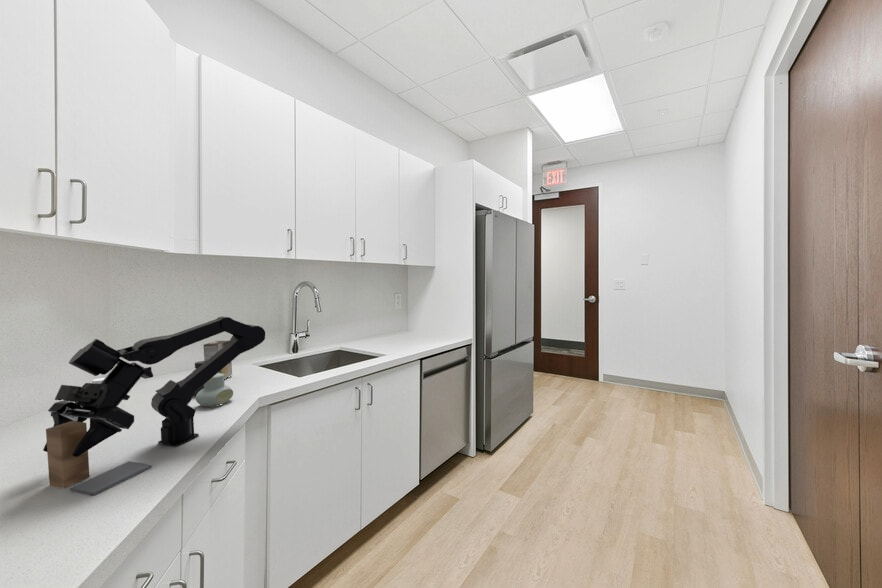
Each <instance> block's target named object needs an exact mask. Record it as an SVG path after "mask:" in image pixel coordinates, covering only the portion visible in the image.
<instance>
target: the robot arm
mask: <svg viewBox="0 0 882 588" xmlns="http://www.w3.org/2000/svg"><path fill="white" fill-rule="evenodd" d="M224 332H225V333H228V334H230V335H232V336H231V338H230V339H229V340H228V341H229V343H228V344H227V345H226V346H224V347H223V348H222V349H221V350H219V351H218V352H217V353H216V354H215V355H213V356H212V357H211V358H210V359H208V360H207V361H206V362H205V363H203V364H202V365H201V366H200V367H198V368H197V369H196V368H195V369H196V370H195V369H194V370H195V371H194V370H192V372H191V373H190V374H188V375H187V376H186V377H185V378H183V379H181V380H179V381H177V382H176V381H173V380H171V379H170V380H168V381H167V382H166V383H165V384H164V385H163V386H162V387H161V388H158V389H156V390H155V394H154V395H153V396H152V398H151V404H150V405H151V408H152V409H153V410H154V411H156V412H157V413H158V414H159V415H161V417H164V419H163V420H161V427H160V438H161V439H160V440H159V441H157V443H158V445H165V446H173V447H178V446H180V445H182V444H184V443H186V442H189V441H191V440H193V439H195V438H197V437H199V433H195V424H194V423H195V422H194V421H195V420H194V417H195V414H196V412H197V410H196V409H195V408H193V407H191V406H190V405H189V403H190V402H191V401H192V400H193V397H195V396H194V394H195V393H196V391H197V390H198V389H199V388H200V387H202V386H203V385H204V384H205V383H206V382H207V381H209V380H210V379H211V378H212V377H213V376H215V375H216V374H217V373H218V372H219V371H221V370H222V369H223V368H224V367H225V366H226V365H228V364H229V363H230V362H232V361H234V360H235V359H236V358H237V357H238V356H239V355H241V354H243V353H246V352H248V351H250V350H252V349H254V348H256V347H257V346H258V345H261V344H262V343H263V342H264V341H265V339H266V331H265V329H264V328H263V327H262V326H259V325H254V324H246V323H243V322H241V321H237V320H235V319H233V318H231V317H229V316H219V317H217V318H216V319H213V320H210V321H207V322H204V323H202V324H198V325H196V326H193V327H190V328H187V329H184V330H182V331H178V332H176V333H173V334H168V335H167V334H166V335H161V336H154V337H149V338H144V339H141V340H138V341H136V342H135V343H133V345H130V346H128V347H123V348H121V349H117V350H116V349H115V348H112V347H111V346H109V345H107V344H105V342H103V341H102V340H100V339H98V338H95V339H93V340H92V341H91V342H89V343H87V344H86V345H85V346H84V347H83V348H80V349H79V350H78V351H77V352H75V354H74V355H73V356H72V357H71V358H70V360H69V361H68V364H69V365H71V366H73V367H76V368H78V369H80V370H82V371H84V372H86V373H88V374H91V376H92V375H93V376H94V377H97V376H99V375H100V374H101V375H103V376H105V375H106V374H107V375H106V376H105V377H104V378H105V379H104V380H103V381H102V382H101V383H100V384H97V383H95V384H93V383H92V382H85V383H84V384H83V385H82V386H77V385H68V384H61V385H60V387H59V389H58V392H57V393H56V396H55V398H54V400H55V401H56V402H54V403H53V404H52V405H51V406H50V407H49V409H48V410H47V411H48V412H49V413H50V416H51V417H52V419H53V426H52V427H54V426H57V425H61V424H64V423H67V422H70V421H77V422H85V421H87V419H89V428H88V430H87V433H86V434H85V436H84V437H83V438H82V440H81V441H80V443H79V444H78V445H77V447H76V448H75V450H74V452H73V453H72V456H75V457H78V456H80V455H81V454H83V453H84V452H86V451H87V450H88V451H89V450H91V449H92V448H94V447H96V446H97V445H98V444H100V443H102V442H103V441H105V440H107V439H109V438H110V437H112V436H114V435H116V434H117V433H121V432H122V431H123V430H129V429H130V428H131V427H132V426H133V424H134V423H135V415H133V414H132V413H130V412H128V411H126V410H124V409H123V408H121V407H119V405H120V404H121V402H122V401H128V400H129V399H130V398H131V396H130V395H128V394H129V393H130V392H131V390H132V389H133V387H135V385H136V384H137V383H138V381H139V380H140V379H141V378H143V379H146V380H147V379H151V378H153V377H154V374H153V372H152V365H154V364H158V363H160V362H161V361H163V360H165V359H167V358H169V357H171V356H172V355H173V354H175V352H178V351H179V350H180V349H183V348H186V347H187V346H190V345H192V344H195V343H198V342H200V341H203V340H206V339H208V338H211V337H214V336H216V335H219V334H222V333H224ZM124 360H125V361H124ZM129 362H131V363H129ZM137 362H139V363H141V364H144V365H148V366H147V367H144V366H142V365H140V364H138V363H137ZM149 365H151V366H149ZM122 429H123V430H122ZM42 451H44V452H46V453H47V441H46V442H45V444H44V447H43V449H42Z"/></svg>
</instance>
